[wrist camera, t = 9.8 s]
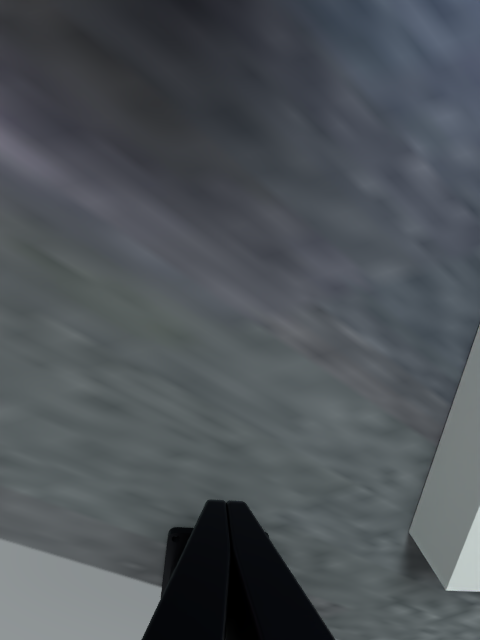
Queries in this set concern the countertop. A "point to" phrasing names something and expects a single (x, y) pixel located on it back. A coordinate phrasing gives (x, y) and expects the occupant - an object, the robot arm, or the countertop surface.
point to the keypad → (455, 490)
